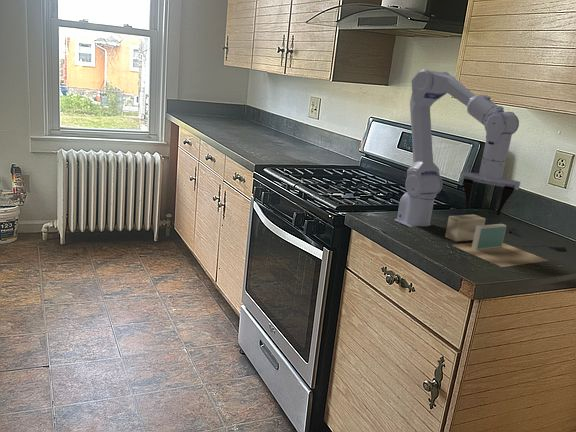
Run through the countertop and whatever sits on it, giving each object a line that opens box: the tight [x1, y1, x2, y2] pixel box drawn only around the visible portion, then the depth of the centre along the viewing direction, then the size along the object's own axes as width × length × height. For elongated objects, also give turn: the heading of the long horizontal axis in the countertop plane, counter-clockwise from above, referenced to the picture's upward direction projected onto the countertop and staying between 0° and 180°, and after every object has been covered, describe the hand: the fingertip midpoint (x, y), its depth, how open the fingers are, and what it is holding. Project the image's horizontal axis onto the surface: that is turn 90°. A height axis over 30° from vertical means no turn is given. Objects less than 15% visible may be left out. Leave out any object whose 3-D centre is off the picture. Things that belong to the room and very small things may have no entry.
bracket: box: [507, 228, 567, 252], centre depth 156 cm, size 14×15×3 cm
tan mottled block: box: [444, 214, 487, 243], centre depth 149 cm, size 4×10×7 cm, turn 121°
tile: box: [471, 223, 507, 250], centre depth 142 cm, size 2×10×6 cm, turn 121°
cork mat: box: [451, 242, 549, 268], centre depth 140 cm, size 16×18×1 cm
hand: (482, 211), depth 142 cm, fingers open, 7 cm apart
